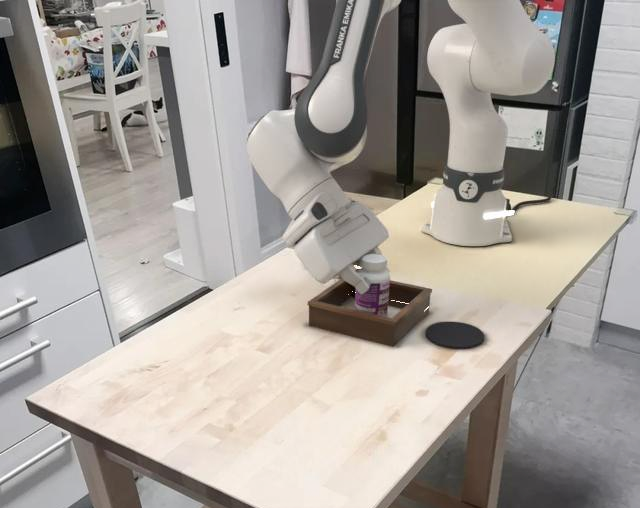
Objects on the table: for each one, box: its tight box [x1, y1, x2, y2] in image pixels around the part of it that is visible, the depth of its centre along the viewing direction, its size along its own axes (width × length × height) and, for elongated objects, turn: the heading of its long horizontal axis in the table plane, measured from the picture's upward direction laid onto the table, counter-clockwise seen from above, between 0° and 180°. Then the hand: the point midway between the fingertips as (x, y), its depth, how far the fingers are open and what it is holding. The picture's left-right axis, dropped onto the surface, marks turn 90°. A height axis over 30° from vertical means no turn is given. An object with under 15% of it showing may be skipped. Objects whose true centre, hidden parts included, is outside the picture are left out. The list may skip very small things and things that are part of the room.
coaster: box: [425, 321, 485, 350], centre depth 111 cm, size 9×9×1 cm
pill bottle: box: [354, 254, 391, 317], centre depth 113 cm, size 5×5×10 cm
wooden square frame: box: [307, 278, 433, 347], centre depth 115 cm, size 15×15×4 cm
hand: (376, 283), depth 112 cm, fingers closed on pill bottle, 5 cm apart
